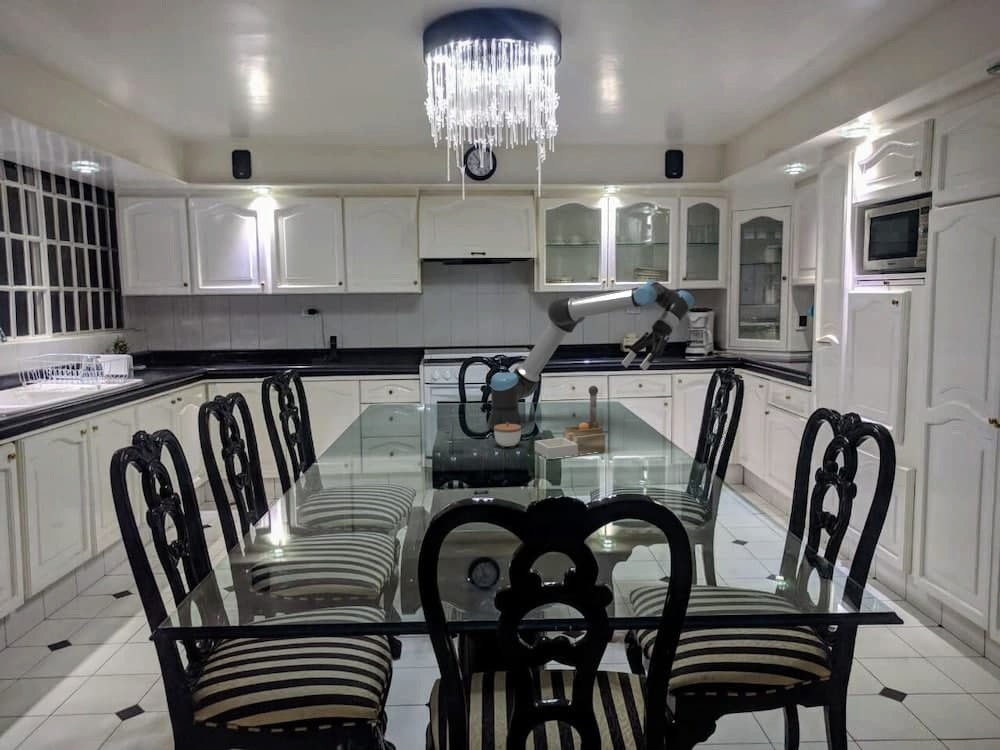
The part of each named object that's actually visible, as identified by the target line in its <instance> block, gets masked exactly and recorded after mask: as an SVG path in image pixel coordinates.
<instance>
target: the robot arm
mask: <svg viewBox="0 0 1000 750" xmlns="http://www.w3.org/2000/svg"><path fill="white" fill-rule="evenodd" d="M694 303H695V299H694V296H692V294H691V293H690V292H688V291H685V290H684V289H683V290H679V291H677V292H675V291H673V290H671V289H669V288H668V287H666V286H664V285H663V284H661V283H660V282H658V281H656V280H654V279H650V280H648V281H647V282H646V283H645V284H644V285H640V286H638V287H633V288H628V289H622V290H617V291H612V292H608V293H602V294H596V295H592V296H591V295H590V296H586V297H578V296H573V295H570V296H566V297H565V296H564V297H558V298H557V297H556V298H555V299H553V300H552V301H551V302H550V303H549V305H548V308H547V315H548V319H549V323H548V325H547V327H546V328H545V330H544V331H543V333H542V334H541V335H540V337H539V339H538V340H537V342H536V343H535V345H534V346H533V348H532V349H531V351H530V353H528V355H527V356H526V358H525V360H524V361H523V363H521V364H518V365H517V366H516V367H515V369H514V370H513V372H509V371H508V372H505V371H504V372H502V373H501V372H500V373H499V372H498V373H497V374H494V375H493V376H492V377H491V380H490V381H491V382H490V388H491V389H490V391H491V392H490V394H491V395H490V396H491V398H490V399H491V411H490V415H489V417H488V422H487V428H488V429H489V430H492V431H494V426H496V425H499V424H506V422H509V424H517V425H520V426H521V429H522V428H523V420H522V418H521V413H520V411H519V400H521V399H525V398H528V397H530V396H532V395H533V394H534V393H535V391H536V390H537V388H538V383H539V381H540V373H541V372H542V371H543V370H544V367H545V366H546V365H547V363H548V362H549V360H550V359H551V358H552V356H553V354H554V353H555V351H556V350H557V348H558V347H559V346H560V344H561V342H562V341H563V339H564V338H565V336H566V335H567V334H571V333H572V332H573V331H574V330H575V328H576V327H577V325H578V324H580V323H582V322H583V321H584V320H585V319H586V317H592V316H595V315H596V316H597V315H601V314H607V313H612V312H617V311H625V310H628V309H629V310H630V309H634V308H641V307H647V306H651V305H658V306H659V307H661V308H662V309H664V310H663V311H662V313H661V314H660V315H659V316H658V318H657V320H655V322H654V323H653V324H652V326H651V330H652V331H651V332H650V333H649V332H648V331H646V332H645V333H644V334H643V335H642V336H641V337H640V338H639V339H638V340H636V341H635V342H634V343H633V344H631V346H629V348H628V349H629V350H630V351H629V353H628V354H627V355H626V357H624V359H623V360H622V361H621V364H622V365H623V366H624V367H625V368H628V366H629V365H631V363H632V361H633V360H634V359H635V358H636V356H637V354H638V353H640V352H641V351H642V350H644V349H645V348H647V347H648V346H649V347H650V346H651V345H652V349H651V351H650V353H648V354H647V356H646V357H645V359H644V360H643V362H642V363H641V364H640V365H639V367H640V368H641V369H642V370H643V371H644V372H645V371H647V370H648V368H649V367H650V366H651V364H652V363H653V361H654V360H655V359H656V358H658V357H661V356H663V352H664V351H665V349H666V348H665V347H666V345H667V343H668V340H670V335H671V334H672V333H673V331H674V330H675V329H676V327H678V324H679V323H680V322H681V321H682V320H683V318H684V317H685V316H686V315H687V313H688V312H689V311H690V310H691V307H692V306H693V304H694Z"/></svg>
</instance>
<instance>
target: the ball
mask: <svg viewBox="0 0 1000 750" xmlns="http://www.w3.org/2000/svg"><path fill="white" fill-rule="evenodd" d="M578 426H579V430H585V429H589V425H588V422H587V423H586V422H581V423H579V425H578Z"/></svg>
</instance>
